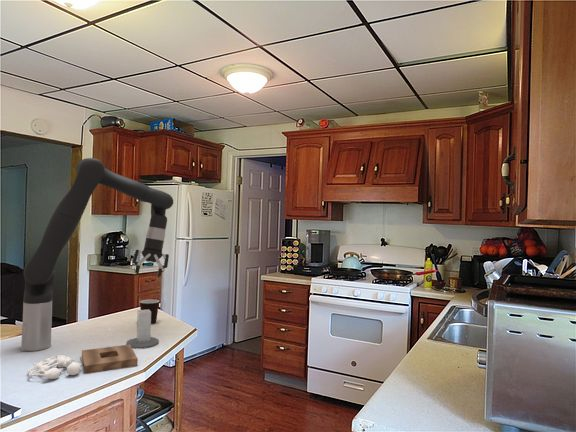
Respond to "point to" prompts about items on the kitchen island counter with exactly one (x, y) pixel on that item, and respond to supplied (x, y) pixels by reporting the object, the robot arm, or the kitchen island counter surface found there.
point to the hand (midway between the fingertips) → (147, 276)
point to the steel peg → (143, 326)
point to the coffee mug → (150, 308)
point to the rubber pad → (135, 344)
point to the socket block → (108, 358)
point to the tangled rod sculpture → (54, 372)
